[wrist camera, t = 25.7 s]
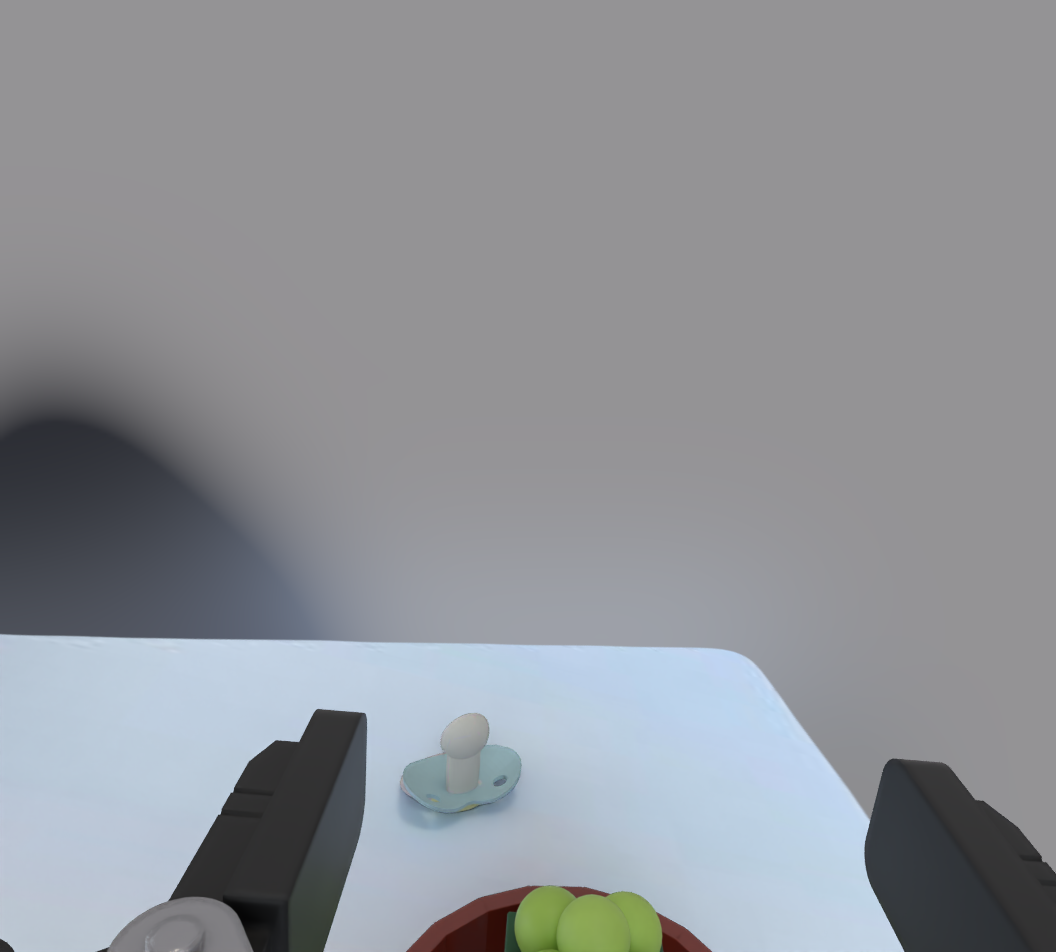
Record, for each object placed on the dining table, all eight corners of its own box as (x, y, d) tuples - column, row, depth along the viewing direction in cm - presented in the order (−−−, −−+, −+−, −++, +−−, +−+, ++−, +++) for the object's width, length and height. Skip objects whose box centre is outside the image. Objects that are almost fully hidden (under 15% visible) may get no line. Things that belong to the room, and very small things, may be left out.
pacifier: (384, 777, 48) (415, 839, 43) (385, 688, 47) (417, 741, 42) (489, 751, 52) (529, 806, 47) (494, 667, 50) (536, 714, 45)
